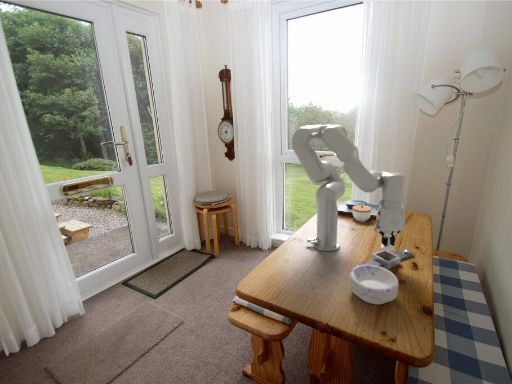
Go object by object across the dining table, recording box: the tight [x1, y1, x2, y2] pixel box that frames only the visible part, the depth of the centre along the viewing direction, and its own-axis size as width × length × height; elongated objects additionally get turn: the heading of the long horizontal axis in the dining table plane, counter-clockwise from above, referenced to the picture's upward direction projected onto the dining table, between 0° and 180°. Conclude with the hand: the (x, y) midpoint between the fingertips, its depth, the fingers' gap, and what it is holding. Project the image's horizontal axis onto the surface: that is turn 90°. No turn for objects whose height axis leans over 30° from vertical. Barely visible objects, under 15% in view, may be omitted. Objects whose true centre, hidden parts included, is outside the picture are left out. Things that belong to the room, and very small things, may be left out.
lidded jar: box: [352, 204, 373, 223], centre depth 155 cm, size 11×11×9 cm
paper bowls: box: [349, 265, 400, 305], centre depth 89 cm, size 15×15×8 cm
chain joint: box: [354, 248, 416, 270], centre depth 110 cm, size 30×8×3 cm, turn 113°
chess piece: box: [380, 231, 395, 252], centre depth 107 cm, size 5×5×10 cm
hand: (387, 244), depth 108 cm, fingers closed on chess piece
